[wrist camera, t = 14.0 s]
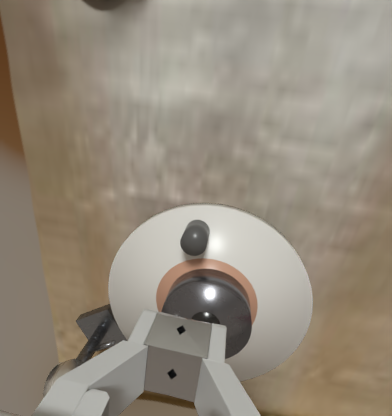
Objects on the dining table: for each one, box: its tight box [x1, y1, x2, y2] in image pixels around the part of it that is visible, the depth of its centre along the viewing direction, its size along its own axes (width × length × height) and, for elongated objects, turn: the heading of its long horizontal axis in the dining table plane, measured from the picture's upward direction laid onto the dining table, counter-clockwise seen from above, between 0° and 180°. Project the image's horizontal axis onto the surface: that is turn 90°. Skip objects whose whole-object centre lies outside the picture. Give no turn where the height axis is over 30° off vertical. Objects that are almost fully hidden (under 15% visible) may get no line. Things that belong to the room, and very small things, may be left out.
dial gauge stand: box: [44, 304, 127, 397], centre depth 31 cm, size 6×5×12 cm
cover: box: [161, 269, 252, 359], centre depth 29 cm, size 9×9×3 cm
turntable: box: [108, 203, 313, 381], centre depth 30 cm, size 22×22×6 cm
